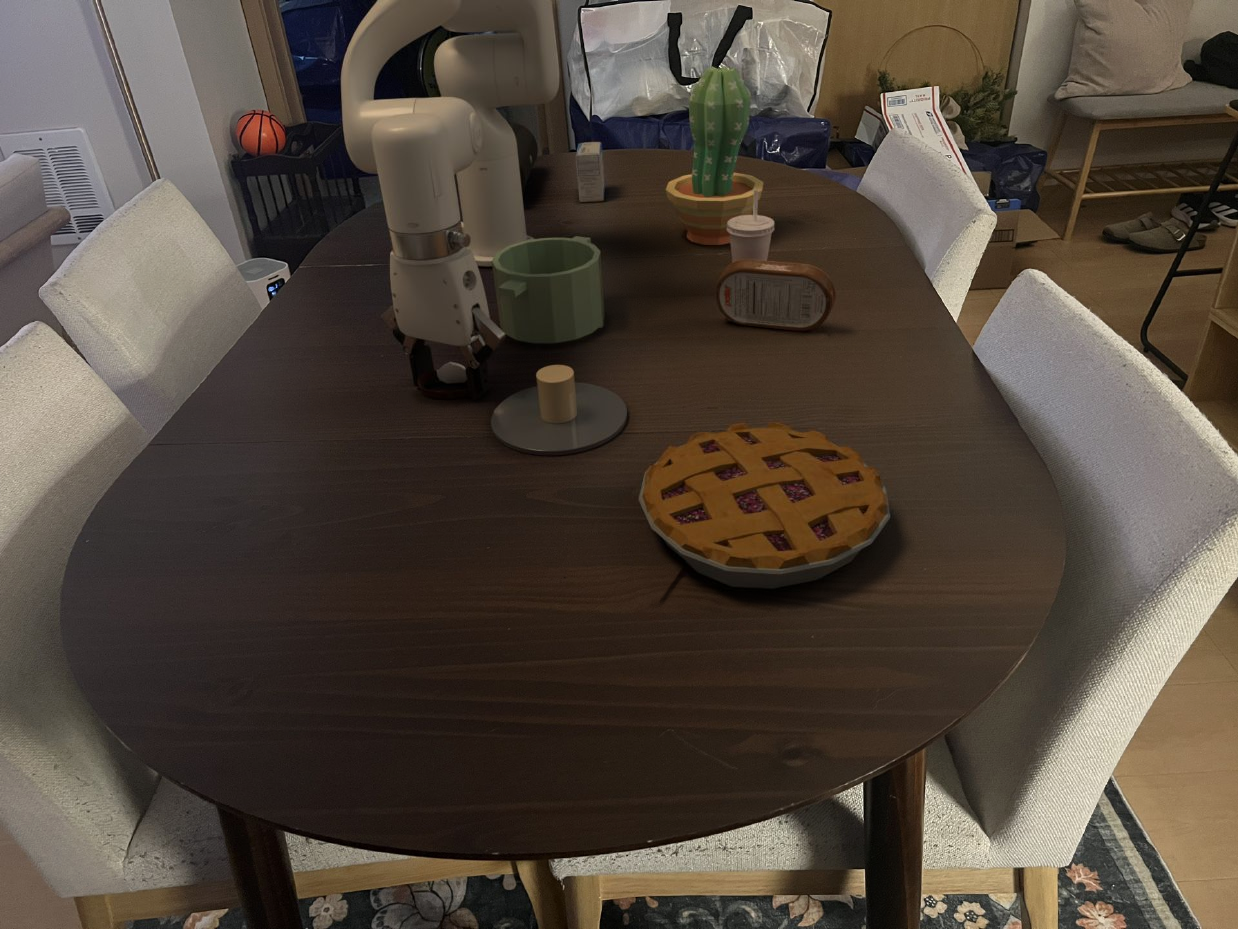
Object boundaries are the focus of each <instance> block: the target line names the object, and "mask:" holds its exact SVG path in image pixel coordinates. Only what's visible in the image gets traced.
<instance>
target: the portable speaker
mask: <svg viewBox="0 0 1238 929" xmlns="http://www.w3.org/2000/svg"><path fill="white" fill-rule="evenodd" d="M507 123H508V124H509V125H510V127H511V128H512V130H513V132H514V134H515V137H516V142H517V151H518V161H519V170H520V179H521V189H522V194H523V193H524V190H525V188H526V185H527V181H528V180H529V177H530V176H531V173H532V170H533V168H534V165H535V163H536V161H537V159H538V154H539V153H538V152H539V147H538V143H537V140H536V137H535V136H534V134H533V132H532V131H530V130H529V128H527V127H526V126H525V125H522V124H521V123H517V122H507Z"/></svg>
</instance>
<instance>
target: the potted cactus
mask: <svg viewBox="0 0 1238 929" xmlns="http://www.w3.org/2000/svg"><path fill="white" fill-rule="evenodd" d="M751 94H752V93H751V91H750V90H749V88H748V86H746V84H745V80H744V79H743V78H741V76H740V75H739V73H738V72H737V70H736V68H735V67H732V68H728V66H727V65H723V66H722V67H720V68H717V67H714V66H709V68H706V70H705V71H704V72H703V73H702V75H701V77H700V78H699V79H698V81H697V83H696V84H695V85H694V87H693V89H692V91H691V94H690V96H689V97H688V98H689V99H688V114H689V118H688V119H689V129H690V133H691V136H692V141H693V144H694V147H693V158H692V168H691V169H692V172H691V173H690V174H685V175H682V176H679V177H677V178H675V179H672V180H670V181H668V183H667V185H666V188H665V194H666V197H667V200H669V201H670V202H672V205H673V208H674V210H675V213H676V216H677V218H678V219H679V221H680V223H681V224H682V225H683V226H684V228H685V229H686V231H687V232H686V238H687V239H688V240H689V241H690V242H692V243H695V244H699V245H703V246H706V245H707V246H721V245H726V244H730V234H729V232H728V231H727V222H728V221H729V220H730V219H732V218H734V217H737V216H742V215H752V214H753V202H754V190H755V189H757V190H758V201H760V200H761V196H762V193H763V189H764V188H763V187H764V181H762V180H761V179H759V178H757V177H755V176H754V175H750V174H745V173H738V172H735V168H736V164H737V160H738V156H739V152H740V147H741V144H742V142H743V140H744V138H745V135H746V133H747V130H748V128H749V127H750V126H749V125H750V114H751V113H750V112H751V103H752V96H751Z"/></svg>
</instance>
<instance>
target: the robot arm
mask: <svg viewBox="0 0 1238 929" xmlns="http://www.w3.org/2000/svg"><path fill="white" fill-rule="evenodd" d="M552 2H553V1H552V0H376V1H375V3H374V4H373V5H372V7H371V8H370V10H369V11H368V12H367V13H366V15H365V16H364V17H363V18H362V20H361V22H359V24H358V26H357V28H356V29H355V31H354V33H353V35H352V37H351V40H350V42H349V43H348V46H347V49H346V52H345V54H344V58H343V61H342V65H341V66H342V67H341V74H340V92H341V95H340V96H341V114H342V115H341V116H342V129H343V130H342V131H343V137H344V144H345V148H346V152H347V154H348V156H349V159H350V160H351V162H352V163H353V165H354V166H355V167H356V168H357V169H359V170H360V171H362V172H364V173H367V174H371V175H377V176H378V181H379V186H380V191H381V196H382V202H383V207H384V213H385V217H386V222H387V228H388V234H389V239H390V244H391V249H392V250H391V252H390V254H389V277H390V278H389V279H390V290H391V299H392V304H391V306H390V307H389V308H388V309H387V310H385V312H383V313H382V315H381V319H382V321H383V322H384V323H385V325H386V326H387V328H388V329H389V330H390V331H392V335H393V337H394V339H396V341H397V342H399V344H400V345H401V346H402V348H401V350H402V352H403V353H404V354H405V355H407V356H408V359H409V365H410V369H411V375H412V379H413V385H414V386H415V387H418V388H419V385H418V378H419V376H420V375H421V374H423V373H425V372H428V371H434V370H435V367H434V360H433V355H432V350H431V346H430V345H429V344H426V343H427V341H428V342H434V343H439V344H444V345H449V346H455V347H458V349H459V351H460V352H461V353H462V355H463V357H464V359H465V361H466V362H467V364H468V366H466V367H465V368H466V377H467V380H466V383H467V388H468V389H469V396H468V397H469V398H470V399H472V400H478V399H479V398H480V397H482V395H484V394H485V393H486V392H487V391H489V390H490V389H491V379H490V372H489V366H488V360H490V359H491V358H492V356H493V355H495V353H496V352H497V351H498V350H499V348H500V346H501V345H502V343H503V342H504V341H505V339H506V338H507V336H506V334H505V333H504V332H503V330H502V328H501V327H499V326H498V325H497V324H496V323H495V322H494V321H493V320H492V319H491V317H490V312H489V306H488V301H487V296H486V295H487V294H486V290H485V286H484V284H483V280H482V276H481V272H480V269H479V267H483V268H484V267H485V268H486V267H487V268H488V267H490V268H491V267H492V268H493V266H492V260H493V258H494V256H495V254H496V253H497V252H499V251H501V250H502V249H504V248H506V247H507V246H510V245H513V244H516V243H519V242H522V241H527V240H534V239H535V238H534V237H532V236H530V235H528V234H527V228H526V217H525V209H524V208H525V207H524V199H523V193H522V189H521V179H520V170H519V161H518V151H517V142H516V137H515V134H514V132H513V130H512V128H511V127H510V125H509V124H508V123H509V122H508V121H507V119H505V117H504V116H502V115H501V113H500V112H499V111H498V110H497V109H496V108H503V107H516V106H517V107H521V106H535V105H543V104H544V105H545V104H547V103H550V102H552V101H553V100H554V99H555V97H556V96H557V94H558V91H559V88H560V87H559V86H560V64H559V55H558V54H559V53H558V46H557V38H556V28H555V20H554V11H553V3H552ZM440 26H441V27H442V28H443V29H445V30H447V31H449V32H454V33H479V34H466V35H459V36H454V37H451V38H448V39H447V40H445V41H443V42H442V43H440V45H439V46H438V47H437V49H436V51H435V53H434V57H433V58H434V59H433V67H434V69H433V70H434V75H435V79H436V84H437V86H438V90H439V93H440V96H435V97H407V98H405V97H404V98H385V99H375V97H374V96H375V86H376V82H377V79H378V77H379V74H380V72H381V70H382V69H383V67H384V65H385V64H386V63H387V62H388V61H389V59H390V58H392V57H393V56H394V55H395V54H397V52H399V51H400V50H402V48H404V47H406V46H407V45H408V44H411V43H412V42H414V41H415V40H417V39H419V38H420V37H423V36H424V35H426V34H428V33H430V32H431V31H434V30H435V29H436V28H438V27H440ZM507 31H515V32H510V33H509V32H507ZM487 32H507V33H487ZM480 33H481V34H480ZM455 175H456V178H455ZM455 179H456V180H455ZM456 182H457V185H456ZM457 188H458V189H457ZM457 190H458V192H457ZM458 195H459V198H458ZM459 202H460V205H459ZM460 209H461V212H460ZM461 216H462V219H461ZM481 334H483V335H484V336H485V338H486V341H485V340H484V339H483V336H482V335H481ZM471 344H473V347H474V348H475V350H476V351H477V352H476V353H475V351H474V349H473V347H472V346H471Z"/></svg>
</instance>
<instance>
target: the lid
mask: <svg viewBox="0 0 1238 929" xmlns="http://www.w3.org/2000/svg"><path fill="white" fill-rule="evenodd" d="M535 378H536V385H535V386H532V387H531V386H530V387H528V388H524V389H522V390H520V391H518V392H515V393H513V394H512V395H510V396H508V397H506V399H504V400H502V401H501V402H500V403H499V404H498V405H497V406H496V408H495V409H494V410H493V412H492V414H491V418H490V427H491V430H492V433H493V436H494V438H496V440H497V441H499V442H500V443H501V444H502V445H504V446H505V447H507V448H509V449H512V450H514V451H517V452H520V453H522V454H529V455H534V456H546V457H547V456H548V457H550V456H551V457H553V456H566V455H567V456H568V455H573V454H579V453H582V452H587V451H590V450H593V449H595V448H598V447H601V446H602V445H604V444H606V443H608V442H610V441H611V440H613V439H614V438H616V437H617V436H618V435H619V434H620V433H621V432H622V431H623V429H624V427H625V426H626V425H627V420H628V408H627V405H626V403H625V401H624V400H623V398H622V397H620V396H619V395H618V394H617V393H615V392H614V391H612V390H610V389H609V388H605V387H603V386H600V385H596V384H592V383H587V382H577V381H576V379H575V370H574V369H573V368H572V367H570V366H568V365H564V364H551V365H547V366H544V367H542V368H540V369H538V371H537V372H536V373H535Z"/></svg>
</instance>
